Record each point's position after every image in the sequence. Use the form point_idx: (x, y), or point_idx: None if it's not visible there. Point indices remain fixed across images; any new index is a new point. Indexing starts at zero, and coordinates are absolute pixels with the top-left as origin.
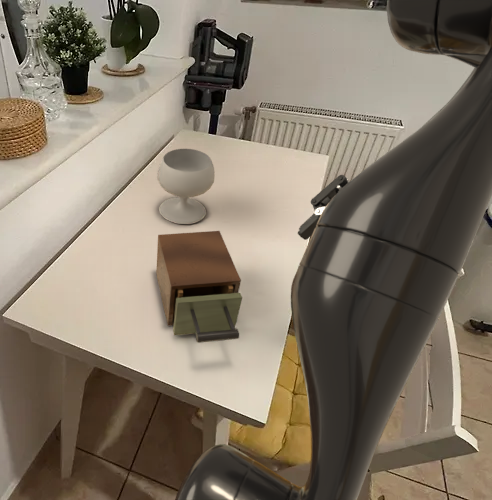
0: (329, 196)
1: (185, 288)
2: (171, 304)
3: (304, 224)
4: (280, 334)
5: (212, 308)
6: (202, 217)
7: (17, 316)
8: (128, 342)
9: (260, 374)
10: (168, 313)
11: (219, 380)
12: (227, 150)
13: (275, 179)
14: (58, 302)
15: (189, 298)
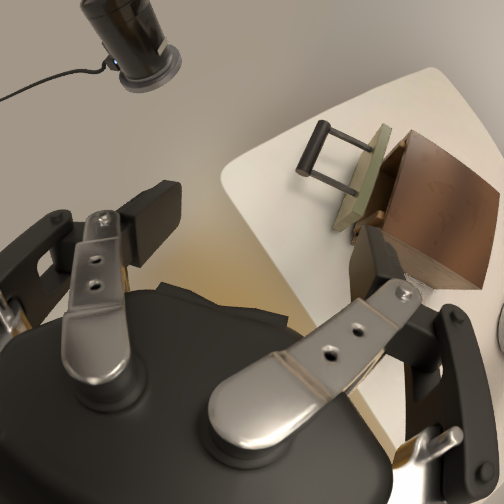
0: (438, 385)
1: None
2: None
3: (392, 258)
4: (293, 288)
5: (361, 175)
6: (499, 340)
7: (433, 69)
8: (374, 116)
9: (258, 213)
10: None
11: (279, 163)
12: None
13: None
14: (442, 100)
15: (384, 141)
